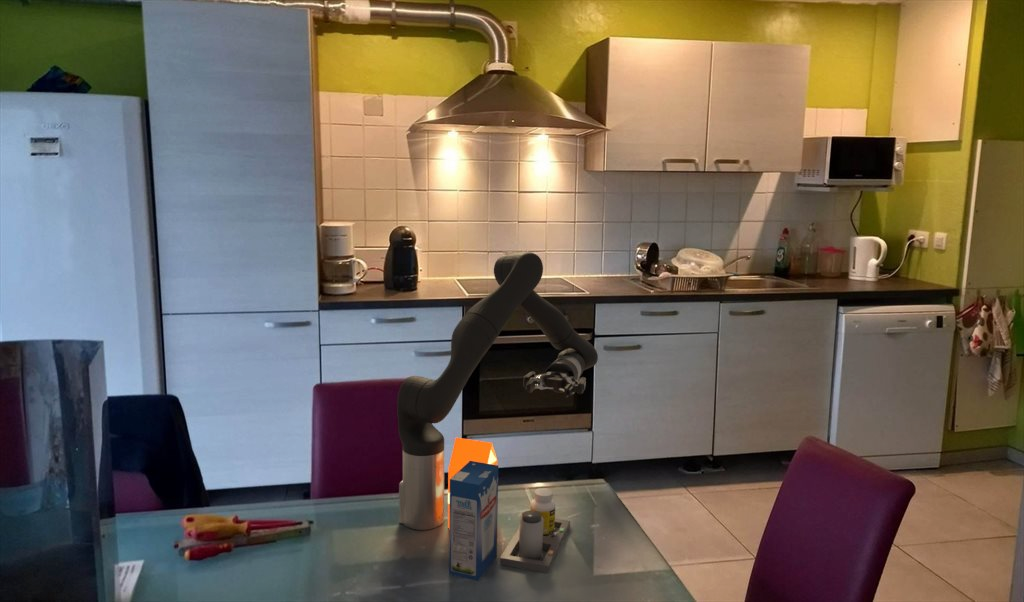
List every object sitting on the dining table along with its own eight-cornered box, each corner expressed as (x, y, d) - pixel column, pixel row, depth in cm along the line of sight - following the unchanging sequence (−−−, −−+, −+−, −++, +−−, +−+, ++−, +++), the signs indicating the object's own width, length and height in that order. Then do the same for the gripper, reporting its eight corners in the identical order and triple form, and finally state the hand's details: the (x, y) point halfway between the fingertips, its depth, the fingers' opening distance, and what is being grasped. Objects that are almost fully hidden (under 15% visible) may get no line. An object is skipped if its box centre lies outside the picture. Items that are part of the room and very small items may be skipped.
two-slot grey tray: (500, 564, 151) (500, 556, 151) (526, 520, 170) (527, 512, 170) (548, 573, 148) (548, 564, 148) (569, 527, 167) (570, 519, 167)
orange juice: (484, 536, 163) (486, 449, 159) (447, 528, 165) (447, 443, 162) (496, 520, 170) (498, 436, 166) (460, 513, 173) (461, 431, 169)
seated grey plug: (516, 560, 153) (517, 518, 151) (522, 548, 158) (523, 508, 156) (538, 564, 152) (540, 522, 150) (544, 552, 156) (545, 511, 154)
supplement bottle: (552, 541, 161) (553, 498, 159) (527, 538, 162) (528, 495, 160) (556, 529, 166) (557, 487, 164) (532, 526, 167) (533, 485, 165)
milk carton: (478, 581, 145) (479, 484, 141) (448, 574, 147) (449, 479, 144) (496, 556, 154) (498, 465, 151) (469, 550, 156) (470, 460, 153)
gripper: (536, 355, 186) (517, 371, 171) (592, 361, 182) (579, 378, 167) (535, 384, 188) (516, 402, 172) (591, 391, 184) (577, 410, 168)
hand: (547, 390), depth 170 cm, fingers open, 8 cm apart
